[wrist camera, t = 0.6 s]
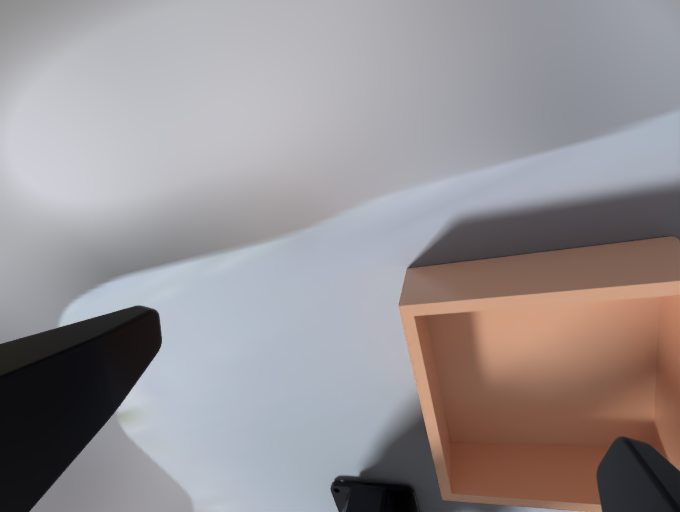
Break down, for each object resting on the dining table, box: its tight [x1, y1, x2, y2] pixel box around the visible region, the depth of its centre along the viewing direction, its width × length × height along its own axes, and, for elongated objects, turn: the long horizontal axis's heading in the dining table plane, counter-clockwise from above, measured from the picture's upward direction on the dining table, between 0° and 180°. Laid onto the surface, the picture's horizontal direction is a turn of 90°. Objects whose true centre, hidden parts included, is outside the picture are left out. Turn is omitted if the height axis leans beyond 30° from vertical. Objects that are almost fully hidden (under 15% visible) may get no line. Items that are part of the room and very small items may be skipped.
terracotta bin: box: [399, 236, 680, 512], centre depth 19 cm, size 13×12×4 cm
